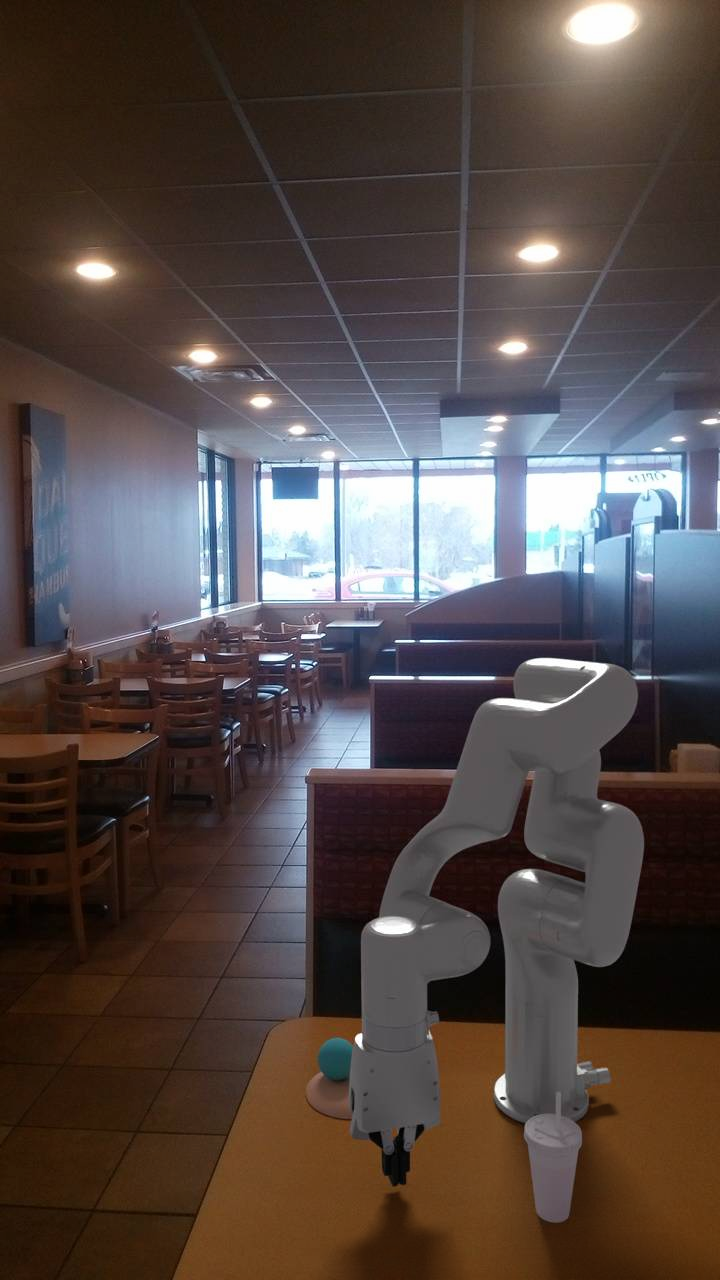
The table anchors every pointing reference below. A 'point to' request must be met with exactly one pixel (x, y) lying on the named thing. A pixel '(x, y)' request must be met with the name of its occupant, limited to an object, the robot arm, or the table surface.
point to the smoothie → (553, 1162)
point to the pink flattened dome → (329, 1096)
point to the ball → (335, 1058)
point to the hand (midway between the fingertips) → (395, 1177)
